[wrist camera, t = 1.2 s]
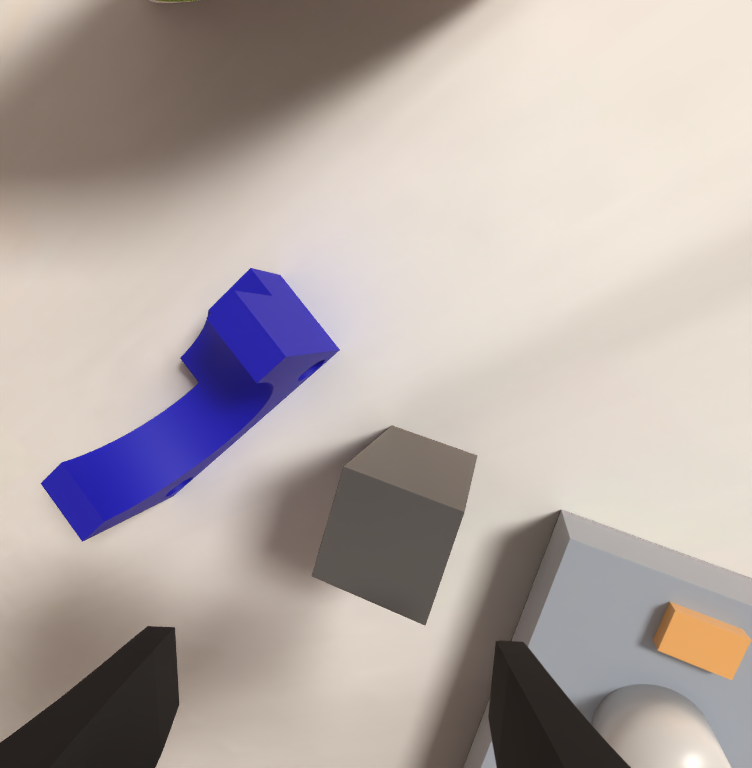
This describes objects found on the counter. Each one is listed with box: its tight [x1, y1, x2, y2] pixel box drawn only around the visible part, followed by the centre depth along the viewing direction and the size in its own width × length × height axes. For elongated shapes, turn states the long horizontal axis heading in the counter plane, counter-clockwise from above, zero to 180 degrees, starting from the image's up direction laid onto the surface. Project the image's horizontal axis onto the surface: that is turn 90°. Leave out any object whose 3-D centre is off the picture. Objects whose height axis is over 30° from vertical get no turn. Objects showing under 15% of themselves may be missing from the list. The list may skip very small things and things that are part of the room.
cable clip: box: [41, 268, 339, 542], centre depth 22 cm, size 12×4×6 cm, turn 130°
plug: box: [312, 426, 477, 625], centre depth 19 cm, size 4×4×7 cm
